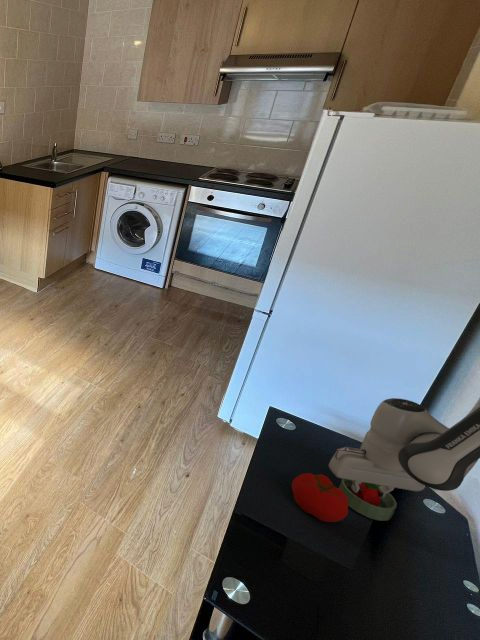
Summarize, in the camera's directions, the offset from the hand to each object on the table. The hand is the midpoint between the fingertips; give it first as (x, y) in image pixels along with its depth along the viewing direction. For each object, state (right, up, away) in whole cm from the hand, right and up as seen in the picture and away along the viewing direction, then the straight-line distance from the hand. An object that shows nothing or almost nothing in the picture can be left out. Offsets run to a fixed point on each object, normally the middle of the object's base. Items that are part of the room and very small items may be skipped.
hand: (367, 493), depth 112 cm
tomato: (-15, -4, -1) cm, 16 cm away
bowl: (0, -4, +1) cm, 4 cm away
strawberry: (0, -2, +1) cm, 2 cm away
